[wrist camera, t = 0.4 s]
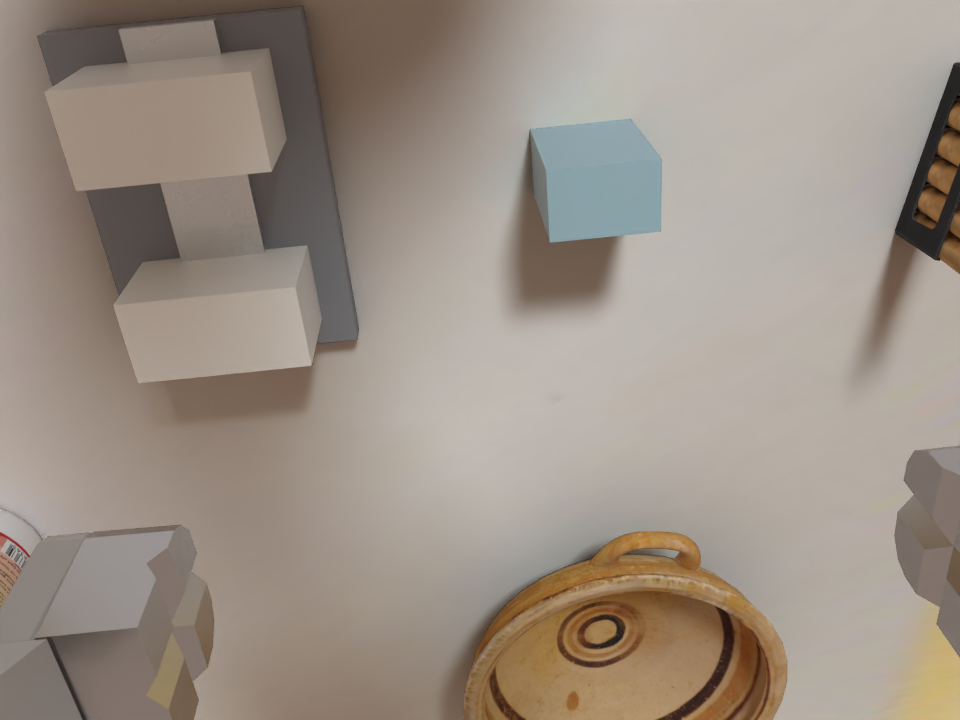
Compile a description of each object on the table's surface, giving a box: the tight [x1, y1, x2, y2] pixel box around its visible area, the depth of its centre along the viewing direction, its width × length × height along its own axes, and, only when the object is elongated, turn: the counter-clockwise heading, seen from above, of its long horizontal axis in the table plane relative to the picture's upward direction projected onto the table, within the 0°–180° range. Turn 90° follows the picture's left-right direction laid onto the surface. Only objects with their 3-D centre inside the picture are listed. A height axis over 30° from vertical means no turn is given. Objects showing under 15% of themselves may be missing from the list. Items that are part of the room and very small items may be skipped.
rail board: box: [37, 6, 359, 384], centre depth 50 cm, size 20×14×8 cm
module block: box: [530, 119, 662, 243], centre depth 50 cm, size 4×6×8 cm, turn 95°
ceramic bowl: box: [464, 532, 787, 720], centre depth 70 cm, size 30×24×8 cm
